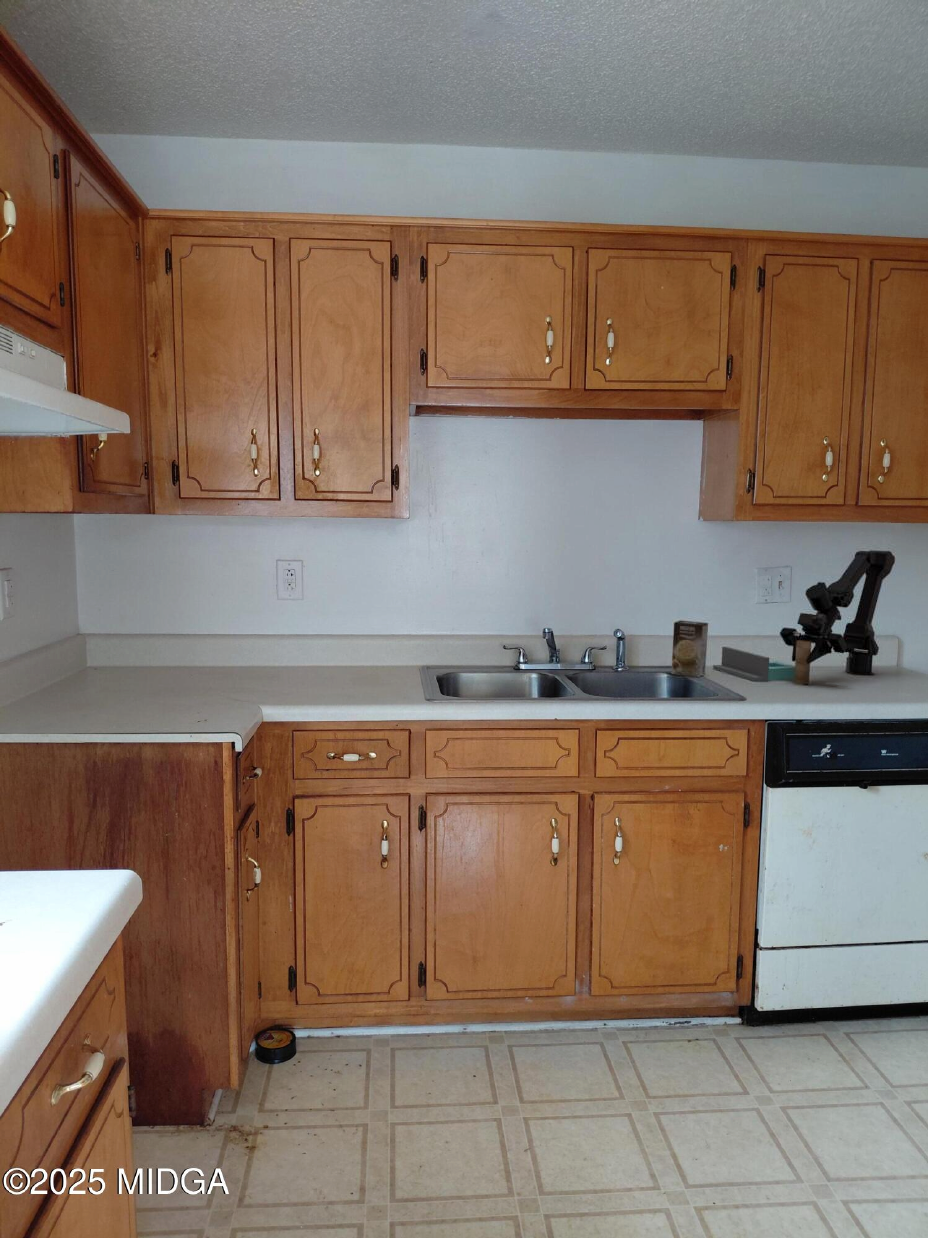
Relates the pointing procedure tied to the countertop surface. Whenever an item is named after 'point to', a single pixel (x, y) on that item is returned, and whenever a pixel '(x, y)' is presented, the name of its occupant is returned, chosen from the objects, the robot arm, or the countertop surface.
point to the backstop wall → (744, 664)
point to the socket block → (780, 671)
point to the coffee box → (689, 648)
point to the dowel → (802, 662)
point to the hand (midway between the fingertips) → (800, 661)
